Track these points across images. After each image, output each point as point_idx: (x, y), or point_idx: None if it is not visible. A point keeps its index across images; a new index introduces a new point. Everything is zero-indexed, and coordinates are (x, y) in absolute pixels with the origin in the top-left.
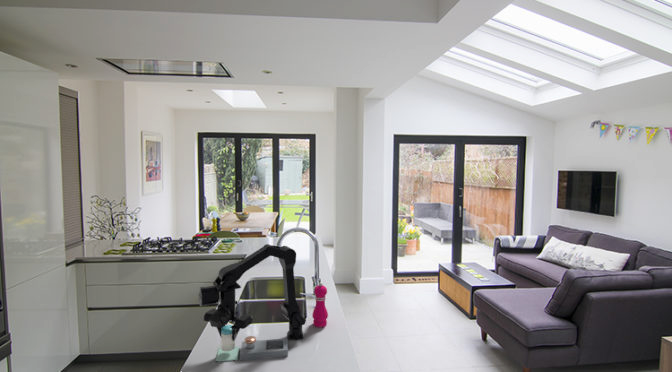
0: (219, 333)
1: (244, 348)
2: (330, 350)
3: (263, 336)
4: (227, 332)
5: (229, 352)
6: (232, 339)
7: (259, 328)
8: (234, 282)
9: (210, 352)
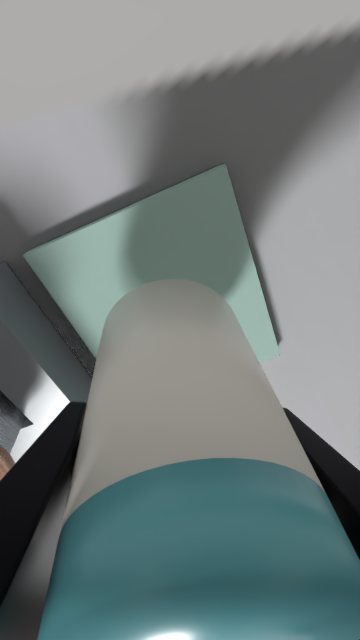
0: (348, 467)
1: (10, 379)
2: None
3: None
4: (130, 545)
5: None
6: (81, 418)
7: None
8: None
9: (329, 296)
